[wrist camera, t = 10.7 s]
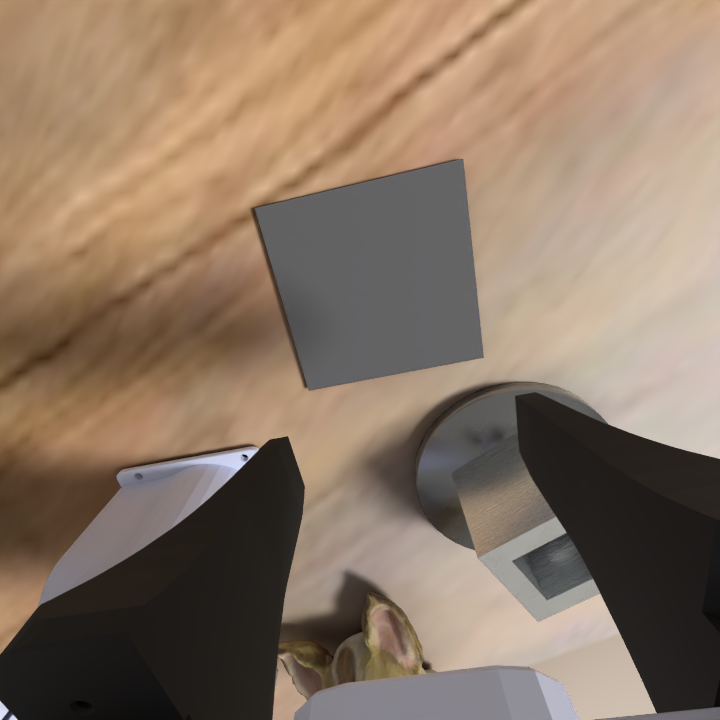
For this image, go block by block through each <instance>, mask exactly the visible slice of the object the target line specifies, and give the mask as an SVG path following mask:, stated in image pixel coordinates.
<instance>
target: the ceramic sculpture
mask: <svg viewBox="0 0 720 720" xmlns="http://www.w3.org/2000/svg"><path fill="white" fill-rule="evenodd" d="M361 626H362V632H360V633H358V634H355V635H352V636H350V637H349V638H347V639H346V640H345V641H344V642H343V643H342V644H341V645H340V646H339V647H338V649H337V650H336V653H335V655H334V657H333V656H332V655H331V654H330V653H329V652H328V651H327V650H326V649H324V648H323V647H322V646H320V645H319V644H317V643H316V642H313V641H289V642H280V643H279V648H278V658H279V659H281V660H282V662H283V664H284V666H285V668H286V670H287V672H288V674H289V675H290V676H292V682H293V684H294V685H295V687H296V689H297V691H298V692H299V693H300V694H301V695H303V696H305V698H306V699H307V701H308V700H309V699H310V698H311V697H312V696H313V695H314V694H315V693H316V692H317V691H320V690H324V689H327V688H330V687H334V686H337V685H340V684H344V683H350V682H358V681H367V680H375V679H384V678H393V677H401V676H410V675H418V674H427V673H436V671H434V670H432V669H427V670H424V669H423V668H422V662H423V652H422V646H421V644H420V642H419V640H418V637H417V635H416V633H415V631H414V629H413V627H412V625H411V624H410V622H409V620H408V618H407V616H406V614H405V613H404V612H403V610H402V609H401V608H400V607H398V606H397V605H396V604H395V603H394V602H392V601H391V600H389V599H387V598H385V597H382V596H380V595H378V594H376V593H373V592H371V591H370V592H368V594H367V602H366V605H365V608H364V611H363V614H362V617H361Z"/></svg>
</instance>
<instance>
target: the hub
mask: <svg viewBox="0 0 720 720" xmlns="http://www.w3.org/2000/svg"><path fill="white" fill-rule="evenodd" d="M533 392H537V393H539V394H542V395H544V396H546V397H548V398H550V399H553V400H555V401H557V402H559V403H561V404H563V405H565V406H567V407H570V408H572V409H574V410H576V411H578V412H580V413H583V414H585V415H587V416H589V417H592V418H594V419H596V420H599V421H601V422H603V423H606V424H608V423H607V422H606V421H605V420H604V419H603V418H602V417H601V416H600V415H599V414H598V413H597V412H596V411H595V410H594V409H593V408H592V407H590V406H589V405H588V404H587V403H586V402H584V401H583V400H582V399H581V398H579V397H578V396H576V395H574V394H572V393H571V392H569V391H566V390H564V389H561V388H559V387H556V386H552V385H548V384H543V383H534V382H515V383H507V384H501V385H497V386H492V387H489V388H486V389H483V390H480V391H478V392H475V393H473V394H471V395H469V396H467V397H465V398H463V399H462V400H460V401H459V402H457V403H455V404H454V405H452V406H451V407H450V408H449V409H448V410H446V411H445V412H444V413H443V414H442V415H441V416H440V417H439V418H438V419H437V420H436V421H435V422H434V423H433V425H432V426H431V427H430V429H429V430H428V432H427V433H426V435H425V437H424V439H423V440H422V442H421V445H420V448H419V450H418V453H417V458H416V463H415V478H416V486H417V491H418V497H419V500H420V503H421V507H422V509H423V511H424V513H425V515H426V516H427V518H428V519H429V521H430V522H431V523H432V525H433V526H434V527H435V528H436V529H437V530H438V531H439V532H441V533H442V534H443V535H444V536H446V537H447V538H449V539H450V540H452V541H454V542H455V543H457V544H460V545H462V546H464V547H467V548H470V549H473V550H475V547H474V544H473V541H472V538H471V534H470V531H469V528H468V525H467V522H466V519H465V515H464V512H463V509H462V506H461V503H460V500H459V496H458V493H457V490H456V487H455V484H454V481H453V477H452V474H451V473H452V472H453V471H455V470H457V469H458V468H460V467H462V466H463V465H465V464H466V463H468V462H470V461H471V460H473V459H475V458H476V457H478V456H480V455H481V454H483V453H485V452H486V451H488V450H490V449H491V448H493V447H494V446H496V445H498V444H499V443H501V442H503V441H504V440H506V439H508V438H509V437H511V436H513V435H514V434H516V433H518V430H517V417H516V403H515V396H516V395H522V394H528V393H533Z"/></svg>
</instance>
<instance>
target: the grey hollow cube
mask: <svg viewBox="0 0 720 720" xmlns="http://www.w3.org/2000/svg"><path fill="white" fill-rule="evenodd" d="M451 474H452V477H453V481H454V484H455V487H456V490H457V493H458V496H459V500H460V503H461V506H462V509H463V512H464V515H465V519H466V522H467V525H468V528H469V531H470V534H471V538H472V541H473V544H474V547H475V550H476V553H477V557H478V559H479V560H480V561H481V562H482V563H483V564H484V565H485V566H486V567H487V568H488V569H489V570H490V571H491V572H492V574H493V575H494V576H495V577H496V578H497V579H498V580H499V581H500V582H501V583H502V584H503V585H504V586H505V587H506V588H507V589H508V591H509V592H510V593H511V594H512V595H513V596H514V597H515V598H516V599H517V600H518V601H519V602H520V603H521V604H522V605H523V607H524V608H525V609H526V610H527V611H528V612H529V613H530V614H531V615H532V616H533V617H534V618H535V619H536V620H537V621H538V622H539V621H541V620H544V619H546V618H548V617H550V616H552V615H554V614H557V613H559V612H561V611H563V610H565V609H567V608H570V607H572V606H574V605H576V604H578V603H580V602H583V601H585V600H587V599H589V598H591V597H593V596H596V595H598V594H600V591H599V590H598V588H597V586H596V584H595V582H594V580H593V578H592V576H591V574H590V572H589V570H588V568H587V566H586V564H585V562H584V561H583V559H582V557H581V555H580V553H579V552H578V550H577V548H576V547H575V545H574V543H573V542H572V540H571V539H570V537H569V536H568V534H567V532H566V531H565V529H564V528H563V526H562V525H561V523H560V522H559V520H558V519H557V517H556V516H555V514H554V512H553V511H552V509H551V508H550V506H549V505H548V503H547V502H546V500H545V499H544V497H543V495H542V494H541V492H540V491H539V489H538V488H537V486H536V484H535V483H534V481H533V480H532V478H531V476H530V474H529V472H528V470H527V467H526V465H525V463H524V461H523V459H522V457H521V454H520V452H519V444H518V433H516V434H514V435H513V436H511V437H509V438H508V439H506V440H504V441H503V442H501V443H499V444H498V445H496V446H494V447H493V448H491V449H490V450H488V451H486V452H485V453H483V454H481V455H480V456H478V457H476V458H475V459H473V460H471V461H470V462H468V463H466V464H465V465H463V466H462V467H460V468H458V469H457V470H455V471H453V472H452V473H451Z"/></svg>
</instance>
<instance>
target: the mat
mask: <svg viewBox="0 0 720 720" xmlns="http://www.w3.org/2000/svg"><path fill="white" fill-rule="evenodd" d="M255 211H256V214H257V218H258V221H259V224H260V228H261V231H262V235H263V238H264V241H265V245H266V248H267V252H268V255H269V258H270V262H271V265H272V268H273V272H274V275H275V279H276V282H277V285H278V289H279V292H280V296H281V299H282V302H283V306H284V309H285V312H286V316H287V319H288V323H289V326H290V329H291V333H292V336H293V340H294V343H295V346H296V350H297V353H298V356H299V360H300V363H301V367H302V370H303V373H304V377H305V380H306V383H307V387H308V390H309V391H310V390H315V389H321V388H326V387H331V386H336V385H342V384H347V383H352V382H358V381H363V380H368V379H373V378H379V377H384V376H389V375H395V374H400V373H405V372H410V371H416V370H421V369H426V368H432V367H437V366H442V365H447V364H453V363H458V362H463V361H468V360H474V359H479V358H484V356H483V346H482V337H481V327H480V317H479V307H478V298H477V288H476V278H475V269H474V259H473V249H472V240H471V230H470V220H469V211H468V201H467V191H466V181H465V172H464V162H463V159H460V160H456V161H451V162H447V163H443V164H439V165H434V166H430V167H426V168H422V169H418V170H413V171H409V172H405V173H401V174H397V175H392V176H388V177H384V178H380V179H376V180H371V181H367V182H363V183H359V184H355V185H350V186H346V187H342V188H338V189H333V190H329V191H325V192H321V193H317V194H312V195H308V196H304V197H300V198H296V199H291V200H287V201H283V202H279V203H275V204H270V205H266V206H262V207H258V208H255Z"/></svg>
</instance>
